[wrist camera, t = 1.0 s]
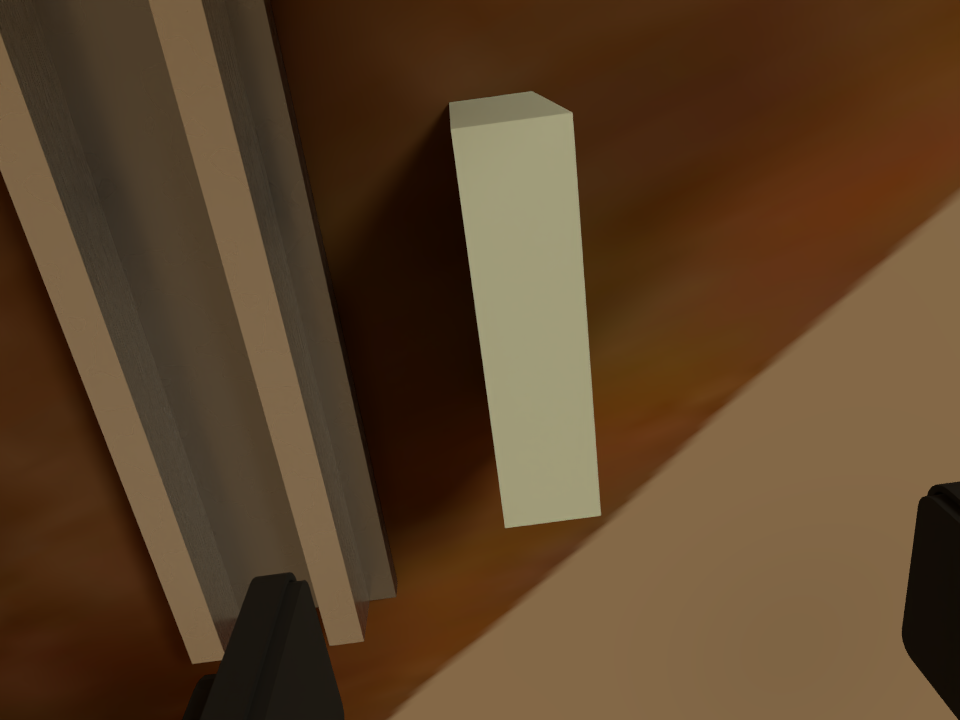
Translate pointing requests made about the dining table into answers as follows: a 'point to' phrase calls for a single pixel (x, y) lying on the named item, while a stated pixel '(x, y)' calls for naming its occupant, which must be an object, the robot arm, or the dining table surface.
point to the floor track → (195, 297)
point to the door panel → (529, 301)
